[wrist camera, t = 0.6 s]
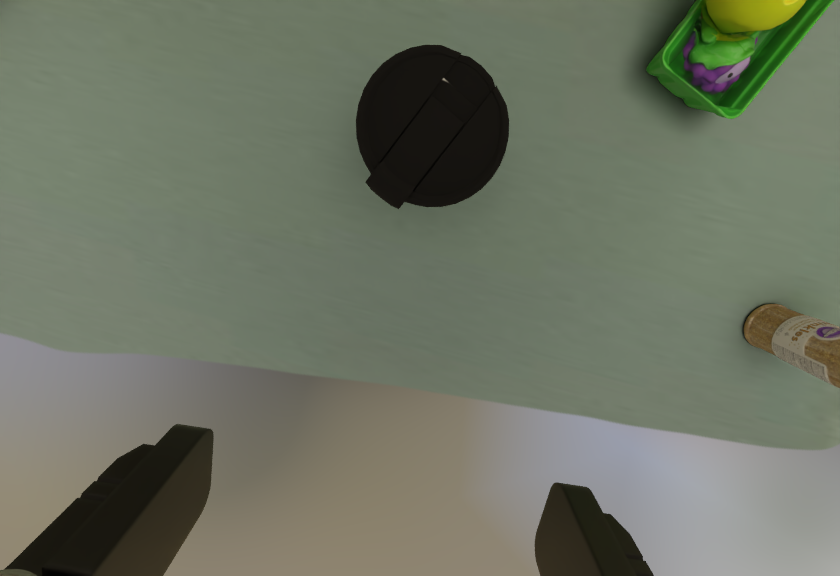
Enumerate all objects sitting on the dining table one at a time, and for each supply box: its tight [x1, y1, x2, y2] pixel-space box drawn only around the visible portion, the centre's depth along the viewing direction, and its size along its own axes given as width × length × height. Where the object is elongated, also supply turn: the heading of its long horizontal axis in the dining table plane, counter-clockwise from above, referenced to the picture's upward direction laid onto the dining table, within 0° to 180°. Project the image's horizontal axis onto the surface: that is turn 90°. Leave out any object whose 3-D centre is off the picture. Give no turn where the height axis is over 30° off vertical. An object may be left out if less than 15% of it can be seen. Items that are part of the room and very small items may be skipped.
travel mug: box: [356, 45, 509, 209], centre depth 26 cm, size 6×7×20 cm
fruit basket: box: [646, 0, 834, 119], centre depth 28 cm, size 11×9×11 cm
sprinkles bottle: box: [744, 304, 840, 388], centre depth 34 cm, size 5×5×13 cm
